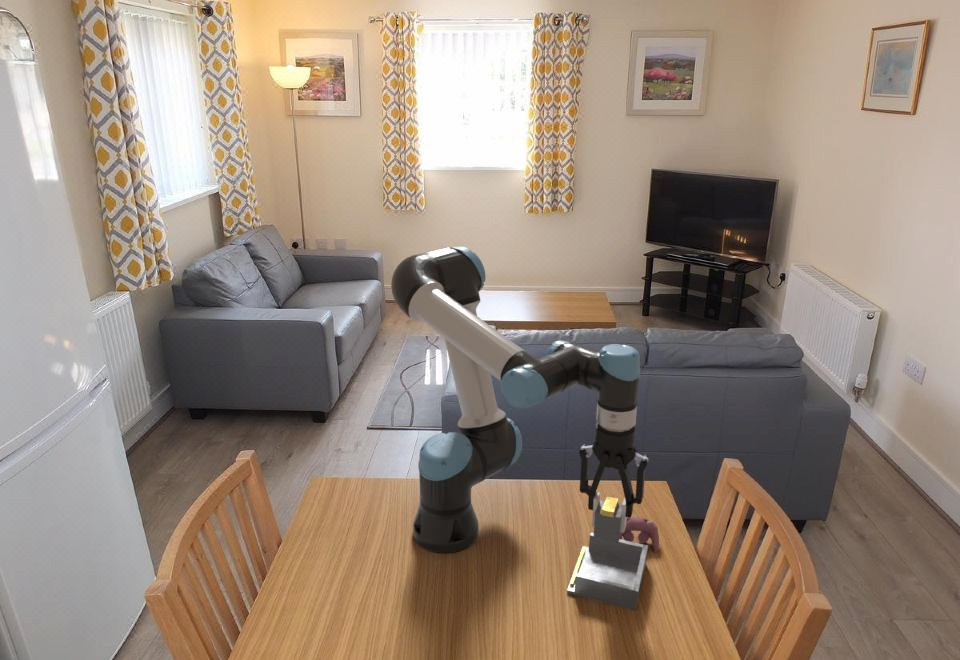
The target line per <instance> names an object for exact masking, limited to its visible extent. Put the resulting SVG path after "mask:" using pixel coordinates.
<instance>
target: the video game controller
mask: <svg viewBox="0 0 960 660" xmlns="http://www.w3.org/2000/svg"><path fill="white" fill-rule="evenodd" d="M633 531H635V532H636V531H637V532H639V533H638V534H637V540H638V541H639V543H640V544H646V543H647V542H648V540H649V539H650V540H651V545H652V549H653V550H654V552H655V553H656V552H658V551H659V547H660V535H659V529H658V525H656V523H655V522H654V521H651V520H649V519H647V518H644V517H639V516H631V518H628V517H627V522H626V528H625V531H624V533H622V534H621V537H620V539H621V540H625V541H630V542H634V541H635V536H634V533H633Z"/></svg>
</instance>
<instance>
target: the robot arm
mask: <svg viewBox="0 0 960 660" xmlns="http://www.w3.org/2000/svg"><path fill="white" fill-rule="evenodd" d="M485 282H486V270H485V267H484V265H483V261H482V260H481V258H480V257H479V256H478V254H477V253H475V252H473V251H472V249H470V248H468V247H466V246H462V245H461V246H458V245H457V246H450V247H449V246H448V247H445V248H440V249H437V250H432V251H428V252H423V253H418V254H413V255H410V256H409V257H408V256H407V257H406V258H404V259H403V260H402V261H401V262H400V263H399V264H398V265H397V266H396V267H395V269H394V272H393V274H392V276H391V284H390V286H391V294H392V297H393V300H394V301H395V304H396V305H397V306H398V307H399V309H400V311H402V312H403V314H405V315H406V316H407V317H409V318H410V319H411V320H412V321H414V322H416V323H424V324H425V325H426V326H427V327H429V328H431V329H432V330H433V331H434V332H436V333H437V334H438V335H440V336H441V337H442V338H443V339H444V342H445V346H446V347H445V348H446V351H447V356H448V359H449V364H450V367H451V372H452V377H453V382H454V386H455V390H456V393H457V394H456V395H457V399H458V402H459V406H460V407H459V408H460V411H461V417H460V418H459V420H458V422H457V427H458V432H456V431H448V432H447V433H445V432H441V433H437V434H435V435H432V436H431V437H429V438H428V439H426V441H424V443H423V444H422V446H421V448H420V449H419V456H418V457H419V459H418V465H417V466H418V473H419V474H418V475H419V506H418V509H417V512H416V514H415V517H414V520H413V525H412V530H413V531H412V534H413V539H414V541H415V542H416V543H417V544H418V546H420V547H421V548H423V549H425V550H426V551H430V552H433V553H439V554H440V553H441V554H448V553H455V552H460V551H463V550H465V549H467V548H468V547H470V546H472V545H473V544H474V543H475V542H476V541H477V539H478V536H479V521H478V518H477V515H476V512H475V509H474V507H473V504H472V488H473V487H474V486H476V485H477V484H478V485H479V484H480V483H481V482H483V481H485V480H488V479H489V478H491V477H492V476H494V475H496V474H498V473H500V472H504V471H506V470H507V469H508V468H509V467H510V466H512V465H513V464H515V463H516V461H518V459H519V458H520V456H521V453H522V449H523V439H522V434H521V431H520V429H519V427H518V426H516V425H515V424H516V423H515V422H514V421H513V420H512V419H510V417H509V418H508V417H507V414H506V412H505V411H503V410H502V409H500V408H499V407H498V404H497V400H496V399H497V398H496V393H495V391H494V385H493V381H492V376H493V377H495V378H496V379H497V380H498V381H499V382H500V389H501V393H502V395H503V396H504V397H505V399H506V402H507V403H508V404H509V405H511V407H514V408H515V409H521V410H523V409H528V408H530V407H533V406H536V405H539V404H541V403H542V402H544V401H545V400H547V399H550V398H551V397H554V396H556V395H558V394H560V393H563V392H565V391H566V390H567V391H568V389H570V388H573V387H575V386H581V387H584V388H586V389H590V390H592V391H593V390H594V391H596V392H597V400H596V403H597V404H596V419H595V420H596V423H595V435H594V436H595V437H594V443H593V444H592V445H588V444H585V443H584V444H582V445H581V446H580V449H579V451H578V453H579V457H580V460H581V462H580V463H581V464H580V478H579V492H580V493H581V494H586V495H587V496H588V499H587V500H588V503H587V504H588V505H587V508H588V510H589V511H592V520H591V526H592V527H594V522H595V511H596V509H597V507H598V505H599V502H600V500H601V492H599V491H597V490H598V488H599V484H600V481H601V479H602V477H603V474H604V471H605V468H612V469H615V470H617V471H618V474H619V477H620V480H621V485H622V489H623V495H624V498H623V501H622V503H621V504H622V513H621V527H620V532H621V533H624V531H625V528H626V522H627V517H628V518H631V517H633V516H632V515H633V514H634V513H633V511H634V504H637V505H641V504H642V503H643V498H644V494H645V475H646V468H647V466H648V464H649V463H648V462H649V460H650V456H649V455H648V454H643V455H642V454H640V453H638V452H637V449H636V447H635V439H636V437H635V436H636V424H637V412H638V394H639V393H638V392H639V384H640V381H639V380H640V376H641V356H640V352H639V351H638V349H636V348H634V347H633V346H631V345H627V344H619V343H610V344H607V345H604V346H603V347H602V348H601V349H600V351H599V350H596V349H594V348H590V347H587V346H584V345H581V344H578V343H576V342H573V341H566V340H562V339H561V340H559V339H558V340H556V341H554V342H552V343H551V345H550V346H549V347H547V349H546V351H545V354H544V356H541V357H540V358H536V357H534V356H533V355H532V354H530V353H528V352H527V351H526V350H524V349H523V348H522V347H520V346H519V345H518V344H516V343H514V342H513V341H512V340H511V339H510V338H508V337H506V336H505V335H503V334H502V333H501V332H500V331H498V330H496V329H495V328H494V327H493V326H491V325H490V324H488V323H487V322H485V321H484V320H483V319H482V318H480V317H479V316H478V313H477V308H478V306H479V304H480V303H481V296H480V291H481V290H482V289H483V287H484V286H485ZM491 375H492V376H491ZM592 454H594V455H595V457H596V458H597V459H598V461H599V464H598V467H597V470H596V473H595V475H594V477H593V481H592V483H591V485H589V479H590V478H589V477H590V464H591V463H590V461H591V456H592ZM633 460H634V461H635V465H636V467H637V471H636V481H635V482H636V484H635V485H636V486H635V494H634V490H633V484H632V481H631V474H630V470H629V464H630V463H631V462H632V461H633Z"/></svg>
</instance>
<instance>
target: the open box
mask: <svg viewBox="0 0 960 660" xmlns="http://www.w3.org/2000/svg"><path fill="white" fill-rule="evenodd" d="M648 548H649V545H648V544H644V543H640V542H639V543H638V542H635V541H632V542H630V541H625V539H622V540H621V539H620V540H619V543H614V542H609V541H605V540H600V539H595V538H594V532H590V533H589V541H588V546H584V545H582V548H581V549H580V550H581V551H580V553H579V557H578V558H577V561H576V563H575V567H574V570H573V573H572V577H571V579H570V581H569V584H568V587H567V591H566V593H567V594H568V595H569V594H570V595H574V596H576V597H577V596H578V597H581V598H585V599H588V600H591V601H592V600H593V601H596V602H600V603H604V604H608V605H611V606H616V607H620V608H623V609H626V610H627V609H628V610H632V611H635V612H636V611H637V608H638V603H639V602H638V601H639V600H640V595H641V594H640V593H641V589H642V583H643V580H644V574H645V570H646V565H647V559H648V558H647V557H648Z"/></svg>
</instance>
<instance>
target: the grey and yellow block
mask: <svg viewBox="0 0 960 660" xmlns="http://www.w3.org/2000/svg"><path fill="white" fill-rule="evenodd" d="M621 513H622V503H619V498H618V497H611V496H606V498H605V500H603V499H600V502H599V505H598V507H597V509H596V511H595V522H594V526H593V533H594V538H595V539H600V540H605V541H609V542H614V543H619V540H620V537H621V534H622V533H621V532H620V527H621Z"/></svg>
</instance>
